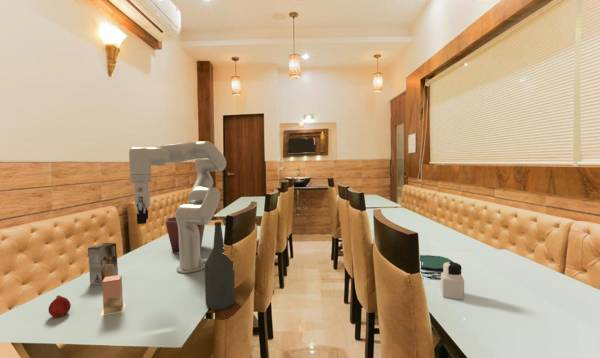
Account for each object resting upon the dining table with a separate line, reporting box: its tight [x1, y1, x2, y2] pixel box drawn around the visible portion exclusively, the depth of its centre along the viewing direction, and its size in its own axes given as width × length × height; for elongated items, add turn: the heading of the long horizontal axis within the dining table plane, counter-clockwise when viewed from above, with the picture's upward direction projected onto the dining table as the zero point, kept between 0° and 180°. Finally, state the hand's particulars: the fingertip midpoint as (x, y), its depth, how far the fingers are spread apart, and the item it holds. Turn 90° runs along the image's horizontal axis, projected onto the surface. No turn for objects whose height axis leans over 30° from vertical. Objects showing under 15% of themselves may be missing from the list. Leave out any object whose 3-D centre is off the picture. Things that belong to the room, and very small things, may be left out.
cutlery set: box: [419, 254, 454, 280], centre depth 146 cm, size 20×30×2 cm, turn 164°
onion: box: [48, 294, 72, 318], centre depth 104 cm, size 6×6×8 cm
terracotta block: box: [101, 274, 123, 300], centre depth 107 cm, size 5×5×6 cm
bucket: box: [165, 216, 206, 254], centre depth 186 cm, size 24×22×25 cm
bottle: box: [203, 221, 236, 311], centre depth 112 cm, size 10×10×30 cm
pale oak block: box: [102, 292, 124, 314], centre depth 107 cm, size 5×5×5 cm
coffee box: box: [87, 242, 119, 286], centre depth 137 cm, size 9×6×16 cm
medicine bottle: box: [440, 261, 465, 300], centre depth 116 cm, size 7×7×12 cm
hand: (142, 221), depth 124 cm, fingers open, 9 cm apart
